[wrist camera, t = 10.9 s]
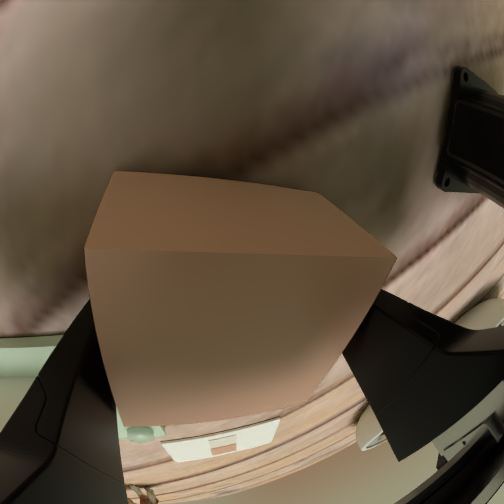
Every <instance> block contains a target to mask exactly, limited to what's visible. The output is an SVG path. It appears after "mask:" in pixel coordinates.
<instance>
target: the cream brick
mask: <svg viewBox="0 0 504 504" xmlns="http://www.w3.org/2000/svg"><path fill="white" fill-rule="evenodd" d="M34 380H35V378H23V377H0V432H1V431H2V429H3V427H4V426H5V424H6V423H7V421H8V420H9V418H10V417H11V415H12V414H13V413H14V411H15V410H16V408H17V407H18V405H19V404H20V402H21V401H22V399H23V398H24V396H25V394H26V393H27V391H28V389H29V388H30V386H31V385H32V383H33V381H34Z"/></svg>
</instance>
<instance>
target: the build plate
mask: <svg viewBox="0 0 504 504" xmlns="http://www.w3.org/2000/svg"><path fill="white" fill-rule="evenodd" d="M62 336H63V335H54V336H40V337H23V338H0V377H23V378H36V376H38V373H39V372H40V370H41V368H42V367H43V365H44V364H45V362H46V360H47V359H48V357H49V356H50V354H51V353H52V351H53V350H54V348H55V347H56V345H57V344H58V342H59V341H60V339H61V338H62ZM116 410H117V425H118V437H119V440H121V439H128V440H130V441H132V442H137V443H145V442H151V441H153V440H154V439H155V437H157V436H166V432H165V428H164V426H143V427H124V426H123V423H122V421H121V418H120V415H119V412H118V409H117V406H116Z"/></svg>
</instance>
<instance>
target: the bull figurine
mask: <svg viewBox="0 0 504 504" xmlns="http://www.w3.org/2000/svg"><path fill="white" fill-rule="evenodd" d="M129 487H130V488H131V489H132V490H134V491H135V492H136V493H137V494H138V496H139V498H140V504H158V502H159V501H158V499H157V498H156V496H155V494H154V491H153V490H152V489H150V488H149V487H144V489H145V490H146V491H147V496H146V495H144V494H143V493H142V492H141V490H140V488H139V487H136V486H135V485H129ZM127 499H128V504H136V503H134V502H133V501H132V500H131V499H130V498H127Z"/></svg>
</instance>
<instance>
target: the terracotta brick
mask: <svg viewBox="0 0 504 504" xmlns="http://www.w3.org/2000/svg"><path fill="white" fill-rule="evenodd" d="M84 254H85V264H86V273H87V281H88V288H89V295H90V301H91V307H92V313H93V318H94V323H95V328H96V333H97V338H98V342H99V347H100V351H101V355H102V359H103V363H104V367H105V370H106V374H107V377H108V381H109V384H110V388H111V391H112V394H113V397H114V400H115V403H116V406H117V409H118V412H119V415H120V418H121V421H122V423H123V426H124V427H143V426H166V425H181V424H192V423H201V422H210V421H217V420H224V419H231V418H237V417H243V416H249V415H254V414H259V413H264V412H269V411H273V410H278V409H282V408H286V407H291V406H295V405H299V404H302V403H306V401H307V400H308V399H309V398H310V396H311V395H312V394H313V392H314V391H315V390H316V388H317V387H318V386H319V384H320V383H321V382H322V380H323V379H324V378H325V376H326V375H327V373H328V372H329V371H330V369H331V368H332V366H333V365H334V364H335V362H336V361H337V359H338V358H339V356H340V355H341V353H342V352H343V350H344V349H345V347H346V346H347V344H348V343H349V341H350V340H351V338H352V337H353V335H354V333H355V332H356V330H357V329H358V327H359V325H360V324H361V322H362V321H363V319H364V317H365V316H366V314H367V312H368V311H369V309H370V307H371V306H372V304H373V302H374V300H375V299H376V297H377V295H378V293H379V291H380V290H381V288H382V286H383V284H384V282H385V281H386V279H387V277H388V275H389V273H390V271H391V269H392V267H393V265H394V263H395V261H396V259H397V257H396V256H395V255H394V254H393V253H391V252H390V251H389V250H388V249H387V248H386V247H385V246H383V245H382V244H381V243H380V242H379V241H378V240H376V239H375V238H374V237H373V236H372V235H371V234H369V233H368V232H367V231H366V230H365V229H363V228H362V227H361V226H360V225H358V224H357V223H356V222H355V221H354V220H352V219H351V218H350V217H349V216H347V215H346V214H345V213H344V212H342V211H341V210H340V209H339V208H337V207H336V206H335V205H333V204H332V203H331V202H330V201H328V200H327V199H326V198H324V197H323V196H322V195H320V194H319V193H316V192H310V191H304V190H298V189H292V188H285V187H278V186H272V185H265V184H257V183H250V182H242V181H233V180H225V179H216V178H206V177H196V176H185V175H173V174H160V173H144V172H125V171H114V173H113V175H112V177H111V179H110V182H109V184H108V186H107V189H106V191H105V193H104V196H103V198H102V201H101V203H100V206H99V208H98V211H97V213H96V216H95V218H94V221H93V224H92V227H91V229H90V232H89V235H88V238H87V241H86V244H85V247H84Z"/></svg>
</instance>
